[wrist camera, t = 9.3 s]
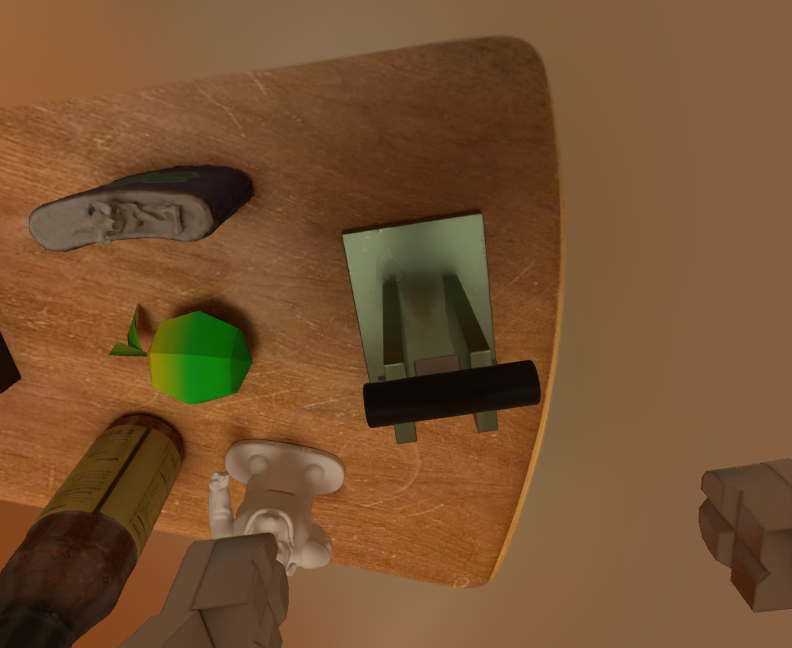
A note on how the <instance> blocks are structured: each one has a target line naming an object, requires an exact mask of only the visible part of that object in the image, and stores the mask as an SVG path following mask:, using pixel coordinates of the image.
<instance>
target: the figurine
mask: <svg viewBox="0 0 792 648" xmlns="http://www.w3.org/2000/svg"><path fill="white" fill-rule="evenodd" d="M225 468H226V471H227V472H217V471H215V472H213V473H212V475H211V481H210V482H209V488H210V494H209V498H208V502H209V509H208V518H209V525H210V530H211V536H212V539H219V538H224V537H233V536H242V535H250V534H259V533H268V532H270V533H272V534H274V536H275V539H276V542H277V545H278V552H277V557H276V560H278V561H279V562H280V563H282V564H283V565H284V567H285V571H286V574H287V575H289V576H292V575H293V574H294V572H295V570H296V567H298V566H301V567H303V568H305V569H313V568H318V567H322V566H324V565H326V564H327V563H328V562H329V561H330V558H331V555H332V540H331V538H330V536H329V534H328V533H327V532H325V531H324V530H323V529H322V527H320V526H319V525H318V524H316V523H313V516H312V513H311V510H312V506H313V503H314V500H315V496H316V495H323V494H329V493H332V492H334V491H336V490H338V489H339V488H340V487H341V485H342V483H343V481H344V475H345V467H344V465H343V463H342V461H341V460H340V459H338V458H337V457H336V456H334V455H332V454H330V453H328V452H325V451H322V450H318V449H314V448H309V447H305V446H298V445H293V444H287V443H280V442H274V441H268V440H258V439H248V440H242V441H238V442H236V443H234V444H233V445H231V447H230V448H229V450H228V452H227V454H226V458H225ZM230 476H231V477H232V478H234V479H235V480H237V481H239V482H242V483H244V484H246V493H245V497H244V501H243V503H242V504H241V505H240V507H239V508H238V510H237V513H236V519H235V521H234V519H233V512H232V508H231V497H230V492H229V489H228V487H227V486H228V485H229V480H230ZM268 489H273V490H280V491H286V492H293V493H295V495H294V496H293V495H288V494H285V493H281V492H269V491H268ZM286 568H288V569H287V570H286Z"/></svg>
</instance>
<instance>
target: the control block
mask: <svg viewBox="0 0 792 648" xmlns="http://www.w3.org/2000/svg"><path fill="white" fill-rule="evenodd" d="M20 379H21V377H20V375H19V373H18V371H17V369H16V367H15V364H14V362H13V360H12V358H11V356H10V354H9V351H8V349H7V347H6V345H5V343H4V341H3V338H2V336H1V334H0V394H1V393H3V392H4V391H5V390H7V389H8V388H9V387H11V386H12V385H13V384H14V383H16V382H17V381H18V380H20Z"/></svg>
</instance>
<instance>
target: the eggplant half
mask: <svg viewBox="0 0 792 648" xmlns="http://www.w3.org/2000/svg"><path fill="white" fill-rule="evenodd" d="M253 196H255V194H254V193H253V184H252V180H251V179H250V178H249V176H248V174H247V173H245V172H243V171H242V170H240V169H234V168H232V167H228V166H212V165H207V164H206V165H198V164H197V165H189V166H175V167H172V168H168V169H166V168H165V169H162V170H155V171H149V172H145V173H141V174H136V175H132V176H127V177H125V178H122V179H119V180H115V181H113V182H112V183H110V184H106V185H103V186H100V187H98V188H94V189H91V190H88V191H85V192H80V193H77V194H73V195H70V196H67V197H64V198H61V199H58V200H56V201H53V202H49V203H46V204H42V205H41V206H40V207H39V208H37V209H35V210H34V211H32V212H31V215H30V217H29V231H30V234H31V235H32V237H33V238H34V239H35V240H36V242H38V243H39V244H40V245H41V246H43V247H44V248H45V250H49V251H63V252H67V251H70V250H75V249H78V248H80V247H83V246H86V245H90V244H94V243H102V244H104V245H105V246H107V245H110V244H111V241H114V240H125V239H138V238H163V239H172V240H177V241H198V240H200V239H203V238H205V237H207V236H209V235H211V234H212V233H213V232H214V231H215V230H216V229H217V228H218V227H219V226H220V225H221V224H222V223H223V222H225V220H227V219H228V218H229V217H231V216H232V215H233V214H234V213H236V212H237V211H238V209H239V208H240V207H241V206H243V205H245V204H246V203H247V202H248V201H249V200H250V198H251V197H253Z"/></svg>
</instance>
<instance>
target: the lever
mask: <svg viewBox="0 0 792 648" xmlns="http://www.w3.org/2000/svg"><path fill="white" fill-rule="evenodd" d="M414 368H415V375H416V376H415V377H408V378H401V379H394V380H387V381H380V382H374V383H367V384H364V386H363V399H364V407H365V414H366V419H367V423H368V425H369V427H370V428H375V427H382V426H389V425H396V424H403V423H410V422H417V421H424V420H431V419H438V418H445V417H453V416H460V415H467V414H474V413H481V412H488V411H495V410H502V409H509V408H516V407H523V406H530V405H537V404H539V402H540V398H541V391H540V382H539V377H538V373H537V370H536V367H535V365H534V363H533V361H531V360H525V361H518V362H511V363H505V364H498V365H491V366H484V367H477V368H470V369H463V370H461V366H460V360H459V355H457V354H455V355H448V356H441V357H434V358H427V359H420V360H415V361H414Z"/></svg>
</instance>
